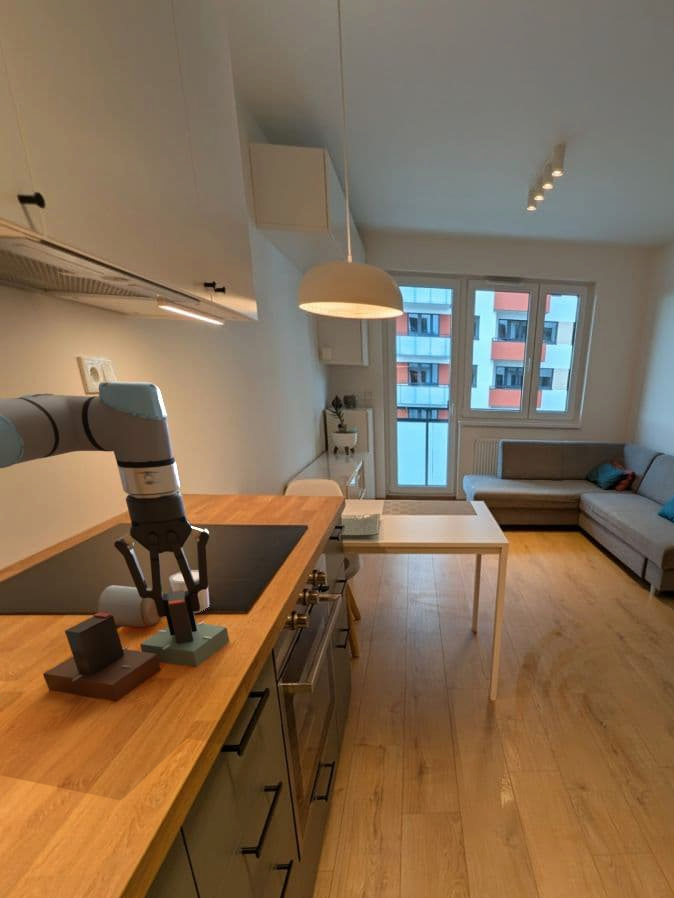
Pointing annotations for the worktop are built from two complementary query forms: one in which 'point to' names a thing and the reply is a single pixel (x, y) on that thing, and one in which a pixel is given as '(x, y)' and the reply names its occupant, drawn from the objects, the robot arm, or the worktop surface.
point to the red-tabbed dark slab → (94, 643)
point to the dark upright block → (180, 616)
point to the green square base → (187, 645)
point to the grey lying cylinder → (128, 607)
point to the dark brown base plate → (104, 676)
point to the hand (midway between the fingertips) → (183, 629)
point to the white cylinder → (179, 584)
